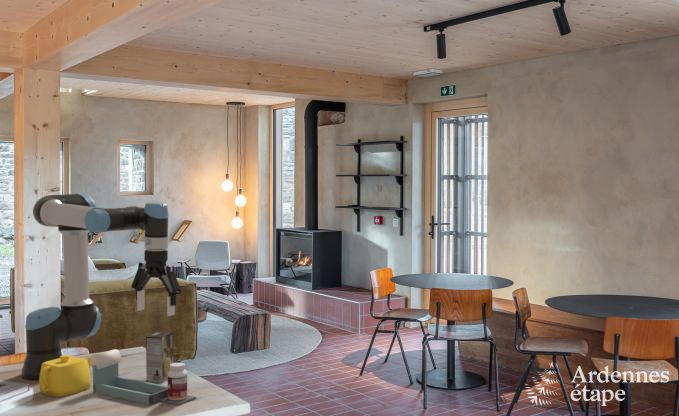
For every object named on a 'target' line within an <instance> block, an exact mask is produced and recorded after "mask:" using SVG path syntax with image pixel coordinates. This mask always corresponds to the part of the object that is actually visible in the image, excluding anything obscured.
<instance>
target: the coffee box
mask: <svg viewBox="0 0 679 416" xmlns="http://www.w3.org/2000/svg"><path fill="white" fill-rule="evenodd" d="M145 360H146V362H145V368H146V382H148V383H162V382H163V383H164V382H165V381H168V372H169V371H171V370H170V364H172V363H174V331H161V330H160V331H154V332H153V333H151V334H149V335H146V336H145Z"/></svg>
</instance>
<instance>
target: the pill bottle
mask: <svg viewBox="0 0 679 416" xmlns="http://www.w3.org/2000/svg"><path fill="white" fill-rule="evenodd" d="M170 370H171V371H169V372H168V379H167V386H168V398H169V399H170V400H173V401H178V400H184V399H186V398H187V395H188V371H187V370H186V364H185V362H173V363H172V364H170Z"/></svg>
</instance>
